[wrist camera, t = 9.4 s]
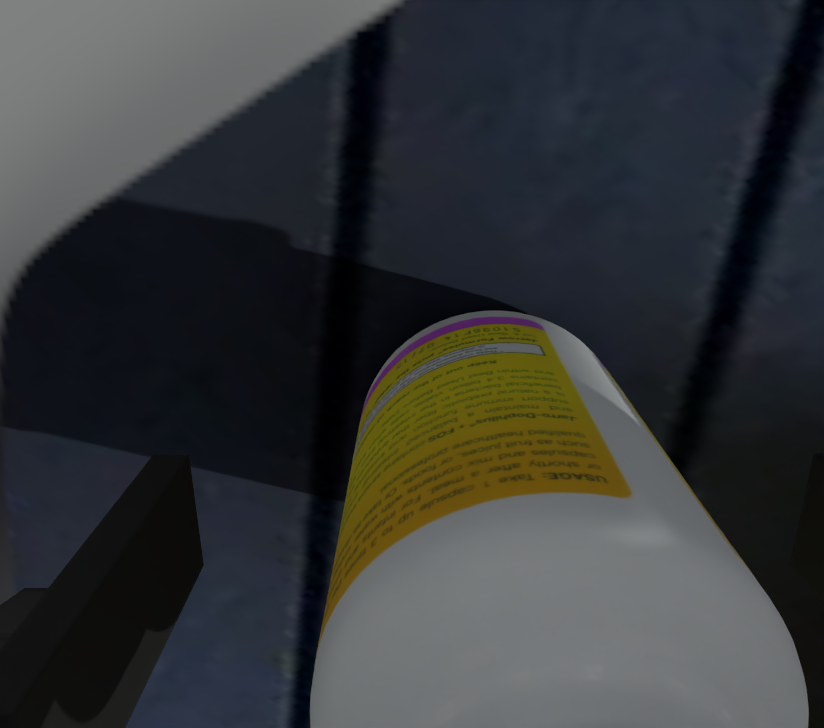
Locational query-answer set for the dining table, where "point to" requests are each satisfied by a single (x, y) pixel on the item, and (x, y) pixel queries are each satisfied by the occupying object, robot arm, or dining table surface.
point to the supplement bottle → (534, 556)
